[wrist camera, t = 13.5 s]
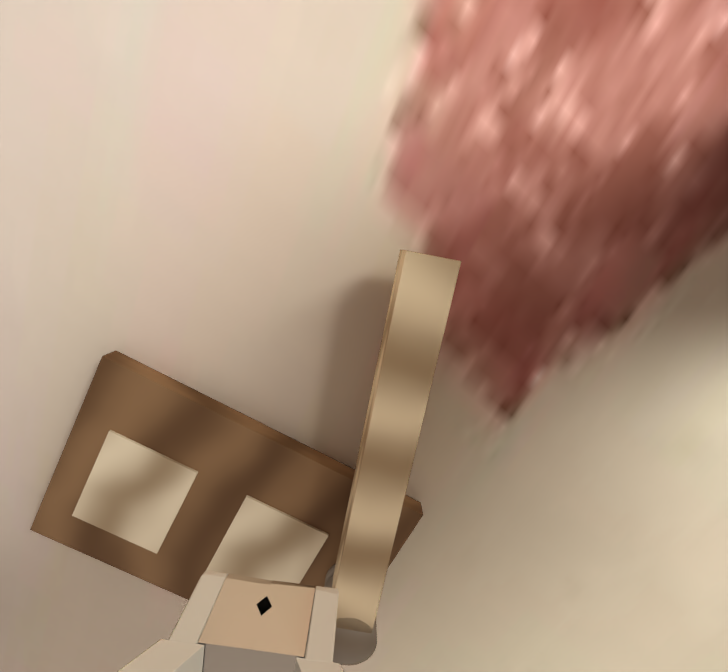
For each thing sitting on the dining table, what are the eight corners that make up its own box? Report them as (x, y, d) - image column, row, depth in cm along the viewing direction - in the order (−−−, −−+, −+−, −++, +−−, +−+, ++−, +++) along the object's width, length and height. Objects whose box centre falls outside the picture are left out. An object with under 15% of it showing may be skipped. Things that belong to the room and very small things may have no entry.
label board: (420, 502, 32) (424, 521, 30) (327, 643, 35) (325, 669, 33) (115, 350, 29) (95, 358, 27) (45, 516, 32) (22, 535, 30)
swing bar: (370, 616, 31) (370, 669, 27) (320, 608, 31) (313, 660, 27) (454, 260, 25) (470, 263, 21) (392, 248, 25) (397, 248, 21)
